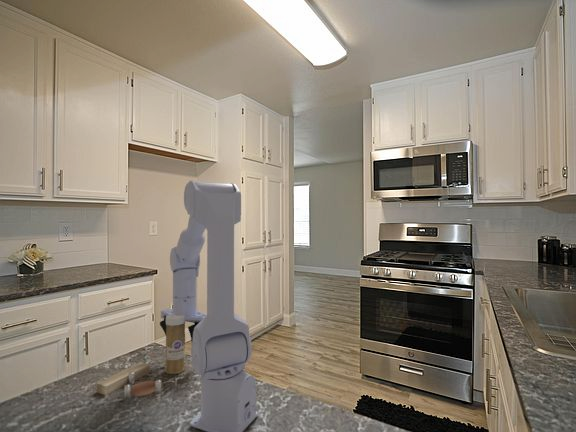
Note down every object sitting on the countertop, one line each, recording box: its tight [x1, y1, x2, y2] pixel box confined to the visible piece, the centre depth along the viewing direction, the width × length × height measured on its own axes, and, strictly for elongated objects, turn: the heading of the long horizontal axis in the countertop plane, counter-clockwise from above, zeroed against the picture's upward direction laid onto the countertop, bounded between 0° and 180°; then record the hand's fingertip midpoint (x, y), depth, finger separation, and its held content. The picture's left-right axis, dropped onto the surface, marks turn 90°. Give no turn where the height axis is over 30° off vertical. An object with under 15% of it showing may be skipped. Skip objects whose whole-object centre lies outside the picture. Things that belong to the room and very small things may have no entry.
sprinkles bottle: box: [165, 314, 187, 375], centre depth 76 cm, size 5×5×14 cm
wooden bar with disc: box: [96, 361, 156, 397], centre depth 69 cm, size 11×11×2 cm
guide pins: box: [123, 372, 162, 400], centre depth 66 cm, size 9×5×2 cm, turn 65°
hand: (184, 349), depth 79 cm, fingers open, 7 cm apart
